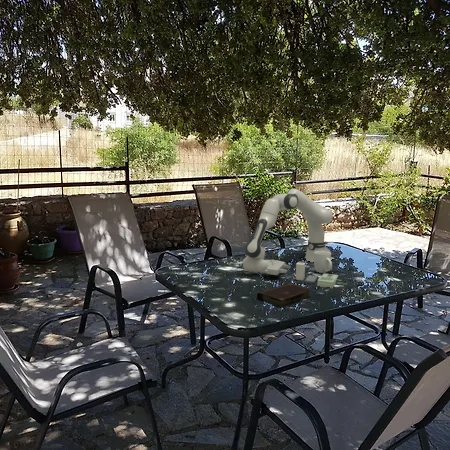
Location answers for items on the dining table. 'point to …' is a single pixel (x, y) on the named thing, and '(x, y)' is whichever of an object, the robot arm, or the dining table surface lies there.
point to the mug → (322, 261)
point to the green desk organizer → (327, 280)
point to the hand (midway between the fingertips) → (288, 269)
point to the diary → (284, 294)
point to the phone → (311, 279)
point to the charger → (300, 271)
